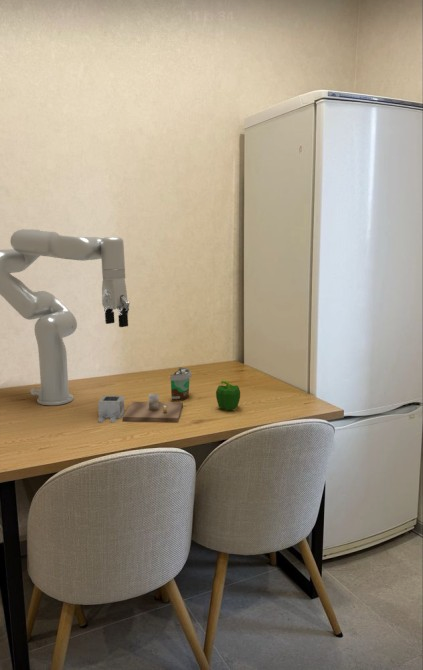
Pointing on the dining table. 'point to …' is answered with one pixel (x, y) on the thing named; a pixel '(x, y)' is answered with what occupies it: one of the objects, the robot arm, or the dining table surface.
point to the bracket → (110, 407)
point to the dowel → (164, 409)
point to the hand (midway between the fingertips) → (116, 325)
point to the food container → (180, 384)
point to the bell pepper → (228, 396)
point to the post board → (153, 411)
